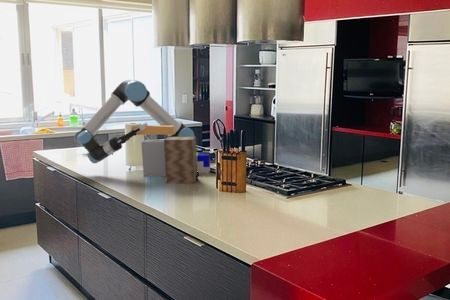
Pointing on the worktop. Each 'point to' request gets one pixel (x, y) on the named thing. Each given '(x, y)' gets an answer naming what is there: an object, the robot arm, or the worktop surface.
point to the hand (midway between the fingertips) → (146, 125)
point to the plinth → (153, 158)
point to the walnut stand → (180, 159)
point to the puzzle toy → (203, 162)
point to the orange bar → (156, 130)
